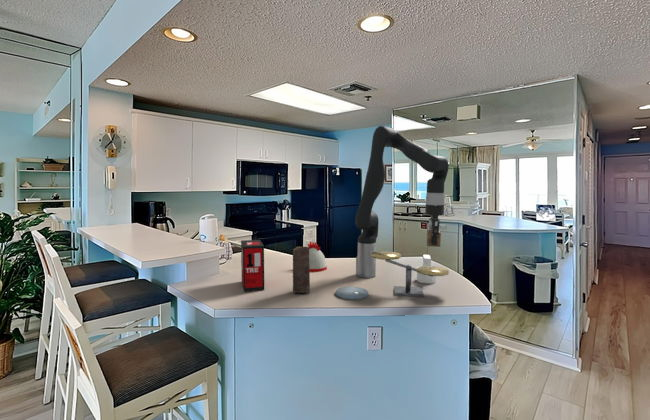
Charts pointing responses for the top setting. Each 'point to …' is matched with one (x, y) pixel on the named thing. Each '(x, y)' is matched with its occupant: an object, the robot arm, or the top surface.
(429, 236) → the walnut block
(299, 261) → the candle
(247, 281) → the cleaning product box
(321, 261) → the kitchen timer
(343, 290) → the dish
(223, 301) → the top surface
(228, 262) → the top surface
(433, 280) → the cylinder with rectangular tab
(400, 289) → the balance
